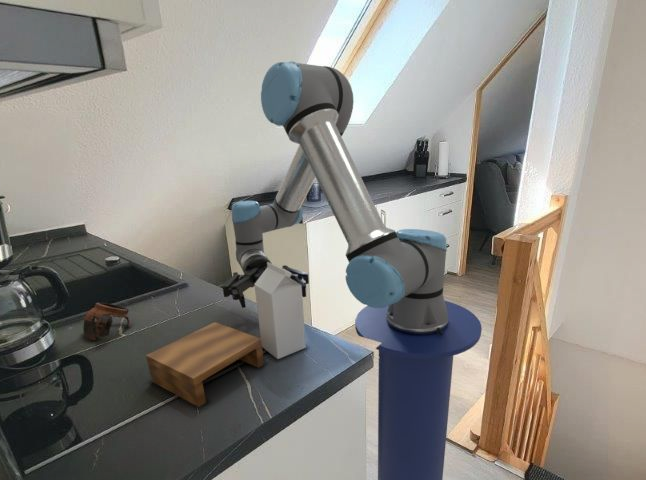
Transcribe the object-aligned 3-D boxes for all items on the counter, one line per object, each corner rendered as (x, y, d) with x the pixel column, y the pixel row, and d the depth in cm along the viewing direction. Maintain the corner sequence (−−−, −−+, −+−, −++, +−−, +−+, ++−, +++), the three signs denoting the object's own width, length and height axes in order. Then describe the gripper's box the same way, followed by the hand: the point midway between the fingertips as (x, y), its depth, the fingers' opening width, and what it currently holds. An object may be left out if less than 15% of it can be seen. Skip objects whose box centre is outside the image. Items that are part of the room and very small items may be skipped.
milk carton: (277, 360, 84) (269, 274, 77) (261, 347, 89) (251, 265, 82) (306, 348, 88) (300, 266, 81) (288, 336, 93) (282, 258, 86)
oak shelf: (264, 364, 83) (261, 338, 81) (198, 407, 71) (192, 378, 68) (218, 345, 90) (214, 321, 88) (152, 382, 78) (145, 355, 76)
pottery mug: (81, 331, 99) (91, 299, 99) (124, 339, 103) (133, 308, 104) (76, 340, 88) (87, 304, 89) (124, 349, 93) (134, 314, 93)
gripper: (303, 273, 113) (328, 302, 95) (210, 288, 104) (218, 322, 86) (301, 248, 110) (327, 272, 92) (205, 260, 101) (212, 290, 83)
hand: (274, 296), depth 89 cm, fingers open, 13 cm apart
